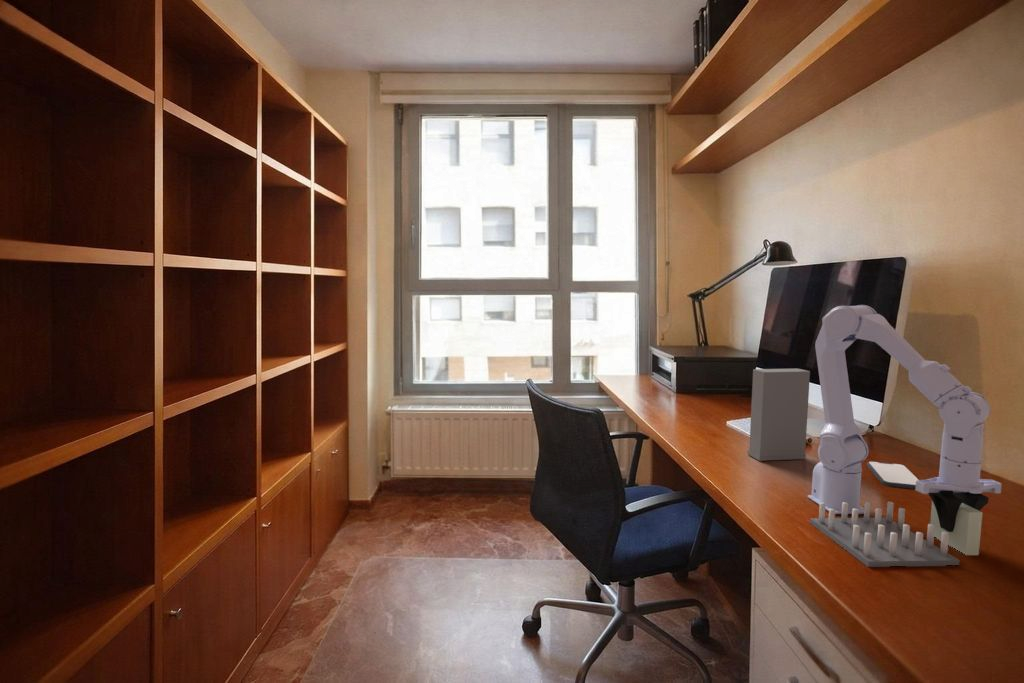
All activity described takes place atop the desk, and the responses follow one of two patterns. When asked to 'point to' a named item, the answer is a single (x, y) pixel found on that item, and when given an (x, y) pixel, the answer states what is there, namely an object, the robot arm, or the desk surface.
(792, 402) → the tall grey upright box
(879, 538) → the dish rack
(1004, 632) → the desk surface
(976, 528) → the pale rectangular block
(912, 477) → the phone case
